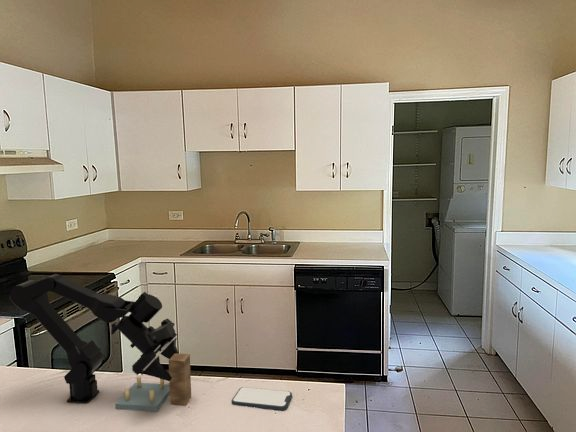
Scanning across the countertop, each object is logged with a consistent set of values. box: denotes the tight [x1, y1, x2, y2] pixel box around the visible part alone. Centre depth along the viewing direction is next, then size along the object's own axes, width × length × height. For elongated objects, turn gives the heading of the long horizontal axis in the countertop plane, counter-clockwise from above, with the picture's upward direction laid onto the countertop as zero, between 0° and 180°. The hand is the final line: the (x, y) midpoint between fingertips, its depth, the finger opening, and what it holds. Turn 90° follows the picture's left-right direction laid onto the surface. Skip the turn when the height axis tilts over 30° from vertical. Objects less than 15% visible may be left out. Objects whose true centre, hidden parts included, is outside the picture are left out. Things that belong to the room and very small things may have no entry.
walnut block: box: [168, 353, 192, 407], centre depth 124 cm, size 4×4×13 cm
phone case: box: [231, 386, 293, 412], centre depth 125 cm, size 9×2×16 cm
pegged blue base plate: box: [114, 375, 170, 413], centre depth 126 cm, size 12×12×4 cm
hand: (177, 371), depth 124 cm, fingers open, 9 cm apart
